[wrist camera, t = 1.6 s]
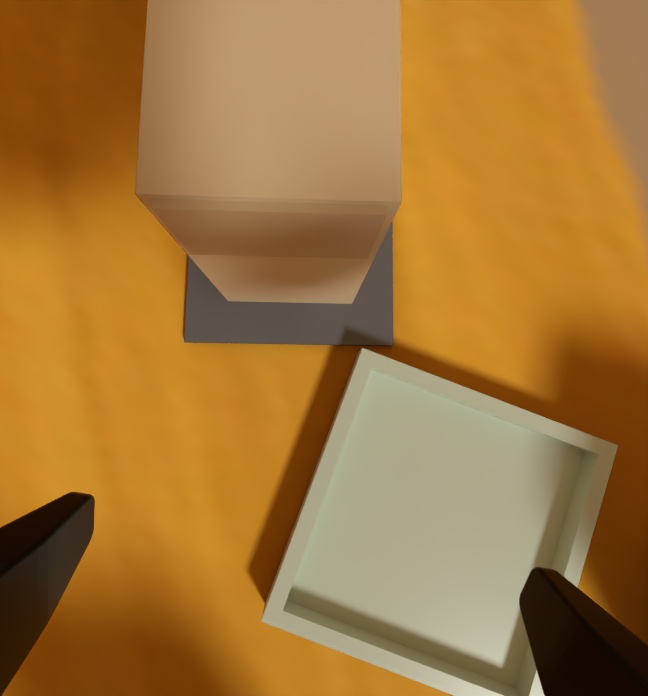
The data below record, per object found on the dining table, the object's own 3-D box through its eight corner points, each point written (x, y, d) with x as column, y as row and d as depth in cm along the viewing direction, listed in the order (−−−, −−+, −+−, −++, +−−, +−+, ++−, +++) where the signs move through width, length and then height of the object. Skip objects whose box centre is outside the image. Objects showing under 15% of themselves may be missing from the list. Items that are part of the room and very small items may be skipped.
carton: (351, 308, 21) (401, 211, 10) (228, 306, 20) (134, 204, 9) (352, 182, 21) (400, -43, 10) (232, 178, 21) (151, -55, 10)
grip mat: (391, 345, 21) (392, 345, 20) (186, 342, 20) (184, 341, 20) (390, 153, 22) (392, 150, 21) (195, 147, 21) (194, 143, 21)
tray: (519, 701, 19) (537, 727, 18) (264, 603, 19) (261, 621, 18) (595, 441, 21) (618, 445, 19) (358, 351, 21) (362, 348, 19)
